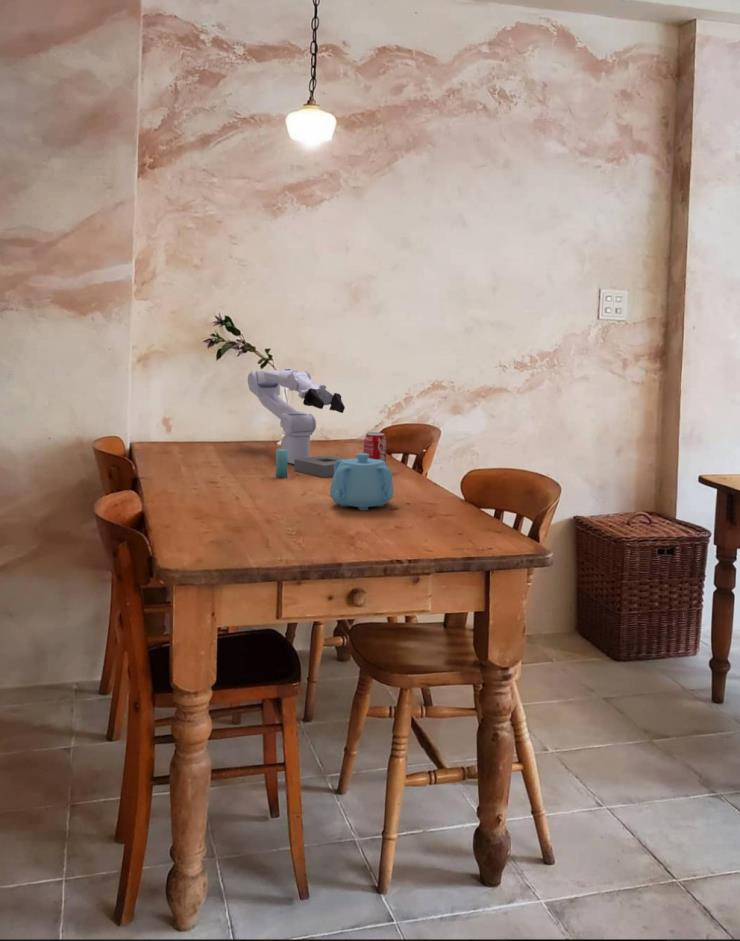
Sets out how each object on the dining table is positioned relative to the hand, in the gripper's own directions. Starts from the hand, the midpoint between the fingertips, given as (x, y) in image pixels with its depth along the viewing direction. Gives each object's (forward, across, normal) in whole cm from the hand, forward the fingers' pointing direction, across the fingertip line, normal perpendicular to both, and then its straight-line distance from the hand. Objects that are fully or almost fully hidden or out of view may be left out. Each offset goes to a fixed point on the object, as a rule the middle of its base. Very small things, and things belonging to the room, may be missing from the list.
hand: (332, 407), depth 281 cm
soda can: (+9, +17, +15) cm, 24 cm away
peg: (+4, -12, +23) cm, 26 cm away
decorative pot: (+47, -15, +11) cm, 51 cm away
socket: (+3, +4, +20) cm, 20 cm away
